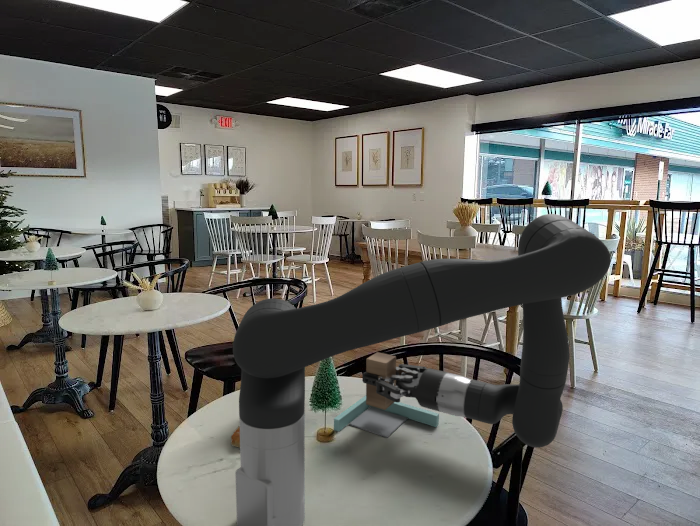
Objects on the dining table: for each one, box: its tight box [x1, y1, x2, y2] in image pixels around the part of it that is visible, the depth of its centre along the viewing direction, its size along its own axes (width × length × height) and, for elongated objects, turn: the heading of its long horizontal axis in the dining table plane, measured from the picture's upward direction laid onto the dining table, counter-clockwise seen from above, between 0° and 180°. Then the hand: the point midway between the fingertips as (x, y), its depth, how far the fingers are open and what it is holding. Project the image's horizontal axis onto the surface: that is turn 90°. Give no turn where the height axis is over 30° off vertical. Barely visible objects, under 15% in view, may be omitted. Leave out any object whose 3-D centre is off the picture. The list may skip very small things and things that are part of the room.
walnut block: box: [365, 351, 397, 410], centre depth 97 cm, size 4×4×10 cm
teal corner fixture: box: [333, 394, 440, 439], centre depth 96 cm, size 14×17×2 cm
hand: (369, 372), depth 98 cm, fingers closed on walnut block, 4 cm apart
